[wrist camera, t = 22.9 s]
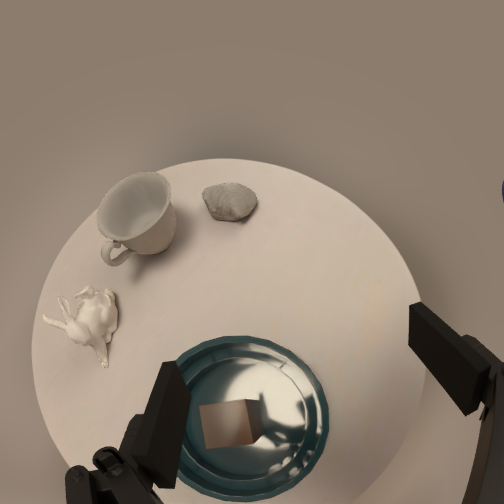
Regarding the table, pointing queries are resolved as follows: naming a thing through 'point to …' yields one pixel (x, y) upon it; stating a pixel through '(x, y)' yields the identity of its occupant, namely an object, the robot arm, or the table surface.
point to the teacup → (137, 216)
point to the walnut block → (231, 423)
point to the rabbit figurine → (90, 320)
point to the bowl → (272, 414)
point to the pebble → (229, 201)
